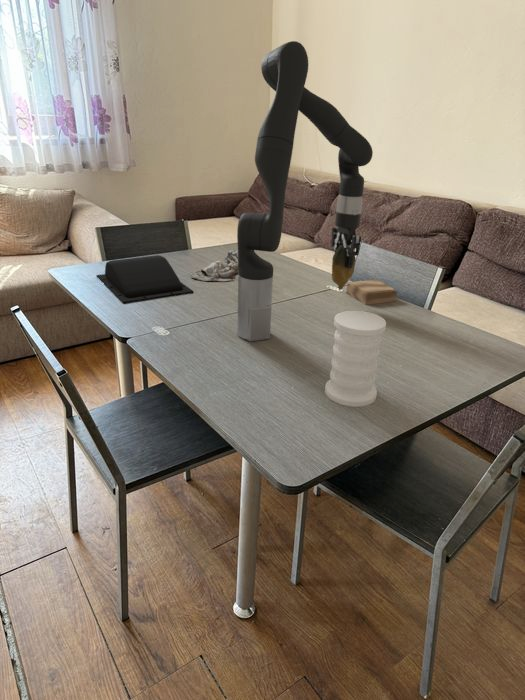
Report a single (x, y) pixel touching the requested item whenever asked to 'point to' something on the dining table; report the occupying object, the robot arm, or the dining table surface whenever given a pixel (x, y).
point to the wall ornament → (220, 269)
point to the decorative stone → (341, 267)
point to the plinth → (371, 292)
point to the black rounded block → (142, 279)
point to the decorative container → (355, 358)
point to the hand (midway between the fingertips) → (342, 264)
